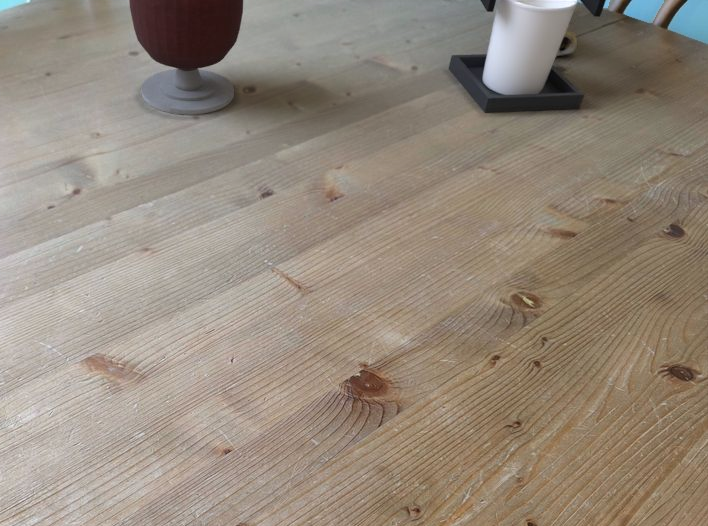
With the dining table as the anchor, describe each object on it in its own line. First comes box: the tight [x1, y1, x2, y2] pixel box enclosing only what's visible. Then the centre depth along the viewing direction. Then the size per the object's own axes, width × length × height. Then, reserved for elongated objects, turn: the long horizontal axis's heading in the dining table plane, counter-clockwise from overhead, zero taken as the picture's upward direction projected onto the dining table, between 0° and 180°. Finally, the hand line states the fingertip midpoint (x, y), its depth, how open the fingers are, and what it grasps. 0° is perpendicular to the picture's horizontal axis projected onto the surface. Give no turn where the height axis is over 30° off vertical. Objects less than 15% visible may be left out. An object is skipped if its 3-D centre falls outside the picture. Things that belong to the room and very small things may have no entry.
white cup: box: [482, 0, 579, 95], centre depth 100 cm, size 10×10×12 cm
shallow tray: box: [448, 53, 585, 113], centre depth 104 cm, size 14×14×2 cm
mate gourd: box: [128, 0, 244, 116], centre depth 92 cm, size 16×14×20 cm
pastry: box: [556, 29, 578, 57], centre depth 115 cm, size 9×7×4 cm
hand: (547, 3), depth 94 cm, fingers open, 13 cm apart
